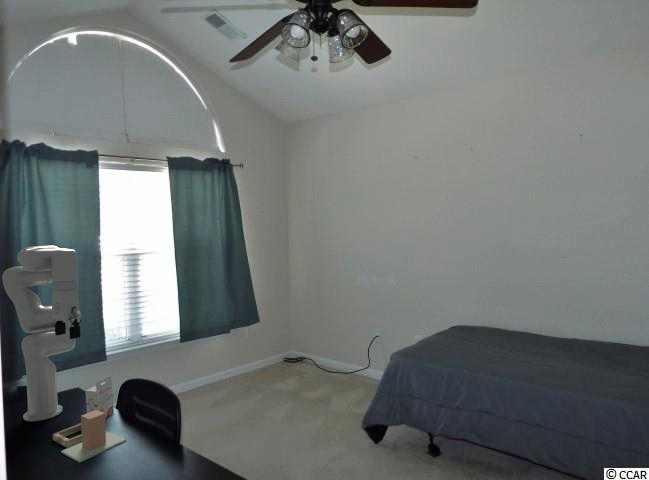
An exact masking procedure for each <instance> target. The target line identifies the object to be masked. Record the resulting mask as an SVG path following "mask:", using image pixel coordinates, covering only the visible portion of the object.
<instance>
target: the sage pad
mask: <svg viewBox="0 0 649 480" xmlns="http://www.w3.org/2000/svg"><path fill="white" fill-rule="evenodd" d="M105 432H106V444H104V445H102V446H100V447H97V448H95V449H93V450H91V451H90V450H88V449H86V448H85V447H83V446H82V442H80V443H78V444H75V445H73V446H71V447H68V448H67V447H66V448H65V449H63V450H61V454H62V455H65V456H66V457H68V458H70V459H72V460H74V461H76V462H77V463H82V462H84V461H86V460H88V459H90V458H92V457H95V456H97V455H99V454H101V453H104V452H106V451H108V450H110V449H113V448H114V447H116V446H119V445H120V444H123V443H125V442H127V439H126V438H124V437H122V436H120V435H117V434H115V433H112V432H110V431H107V430H106V431H105Z"/></svg>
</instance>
